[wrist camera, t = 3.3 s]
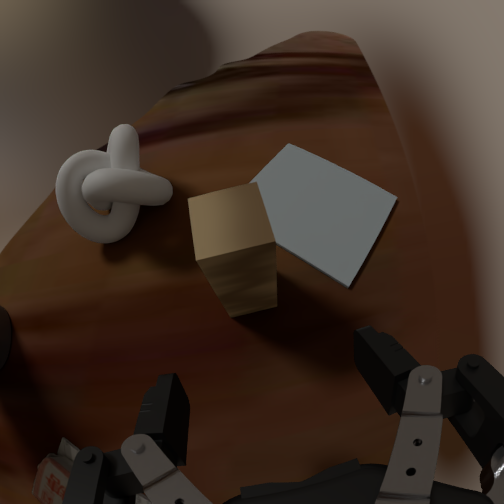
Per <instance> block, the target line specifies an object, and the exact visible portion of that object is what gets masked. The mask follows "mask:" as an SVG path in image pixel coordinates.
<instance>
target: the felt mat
mask: <svg viewBox="0 0 504 504" xmlns="http://www.w3.org/2000/svg"><path fill="white" fill-rule="evenodd" d="M253 182H257V184H258V187H259V190H260V193H261V196H262V199H263V203H264V206H265V209H266V212H267V215H268V218H269V221H270V224H271V228H272V231H273V234H274V237H275V240H276V245H278V246H280V247H281V248H283V249H285V250H286V251H288V252H289V253H291V254H293V255H294V256H296V257H298V258H299V259H301V260H303V261H304V262H306V263H307V264H309V265H311V266H312V267H314V268H316V269H317V270H319V271H321V272H322V273H324V274H325V275H327V276H329V277H330V278H332V279H333V280H335V281H337V282H338V283H340V284H342V285H343V286H345V287H346V288H348V287H349V286H350V284H351V282H352V280H353V279H354V277H355V275H356V274H357V272H358V270H359V269H360V267H361V265H362V263H363V262H364V260H365V258H366V256H367V254H368V253H369V251H370V249H371V247H372V245H373V244H374V242H375V240H376V238H377V236H378V234H379V232H380V231H381V229H382V227H383V225H384V223H385V221H386V219H387V217H388V215H389V213H390V211H391V209H392V207H393V205H394V203H395V201H396V199H397V197H396V196H394V195H392V194H390V193H389V192H387V191H385V190H383V189H382V188H380V187H378V186H376V185H374V184H372V183H371V182H369V181H367V180H365V179H363V178H361V177H359V176H357V175H355V174H353V173H351V172H349V171H347V170H345V169H343V168H341V167H339V166H337V165H335V164H333V163H331V162H329V161H327V160H325V159H323V158H321V157H319V156H316V155H314V154H312V153H310V152H308V151H305V150H303V149H301V148H299V147H296V146H294V145H292V144H289V143H288V144H287V145H286V146H285V147H284V148H283V149H282V150H281V151H280V152H279V153H278V154H277V155H276V156H275V157H274V158H273V159H272V160H271V161H270V162H269V163H268V164H267V165H266V166H265V167H264V168H263V169H262V170H261V172H260V173H259V174H258V175H257V176H256V177H255V178H254V179H253V180H252V181H251V182H250V183H253Z"/></svg>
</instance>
